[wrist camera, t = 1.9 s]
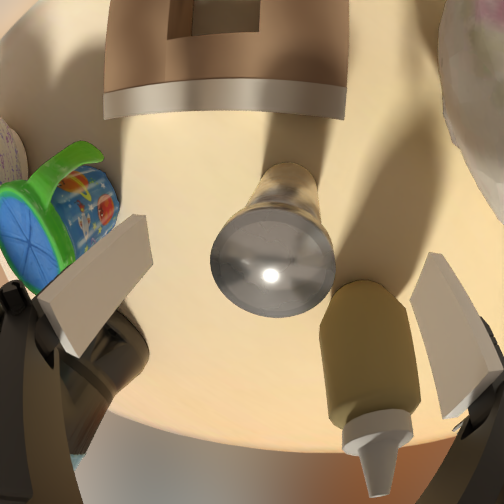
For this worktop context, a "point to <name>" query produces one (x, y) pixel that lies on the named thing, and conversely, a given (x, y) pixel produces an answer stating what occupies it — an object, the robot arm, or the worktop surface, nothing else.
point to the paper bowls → (11, 155)
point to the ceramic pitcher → (475, 90)
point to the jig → (226, 60)
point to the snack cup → (55, 215)
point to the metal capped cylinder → (276, 247)
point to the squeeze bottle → (370, 377)
